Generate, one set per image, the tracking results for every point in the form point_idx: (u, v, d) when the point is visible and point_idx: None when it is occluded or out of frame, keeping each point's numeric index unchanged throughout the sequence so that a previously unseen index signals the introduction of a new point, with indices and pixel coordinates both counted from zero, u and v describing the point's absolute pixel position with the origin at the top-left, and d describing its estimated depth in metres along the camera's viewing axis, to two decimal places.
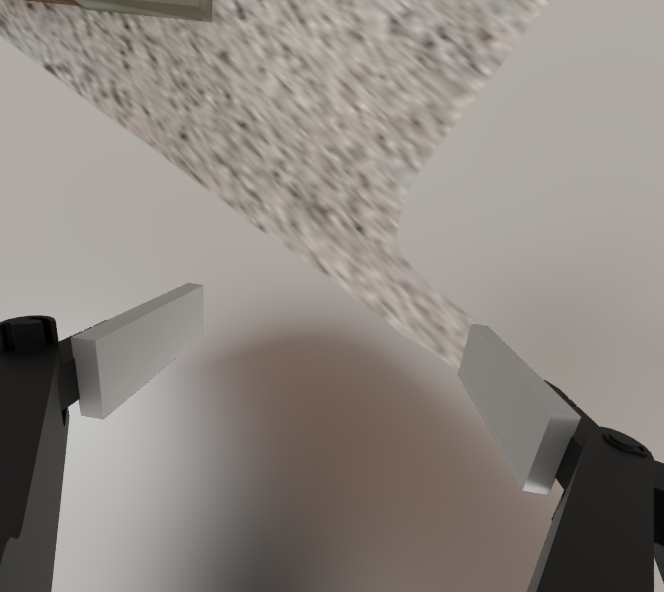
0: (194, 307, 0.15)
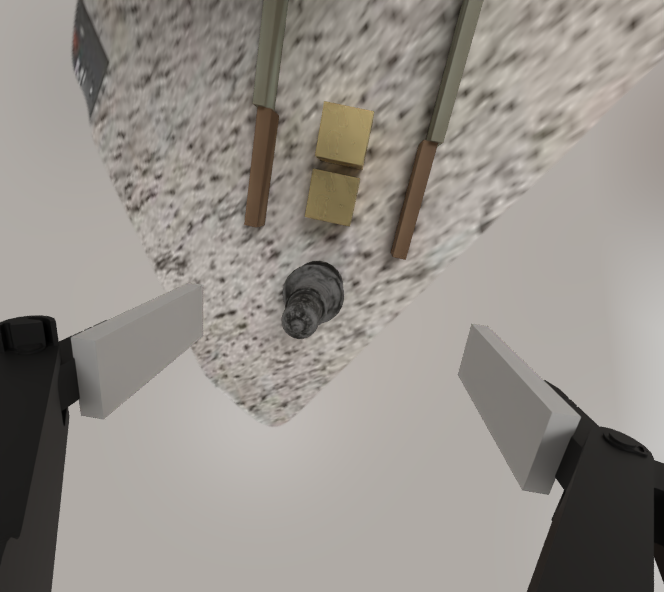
0: (194, 307, 0.15)
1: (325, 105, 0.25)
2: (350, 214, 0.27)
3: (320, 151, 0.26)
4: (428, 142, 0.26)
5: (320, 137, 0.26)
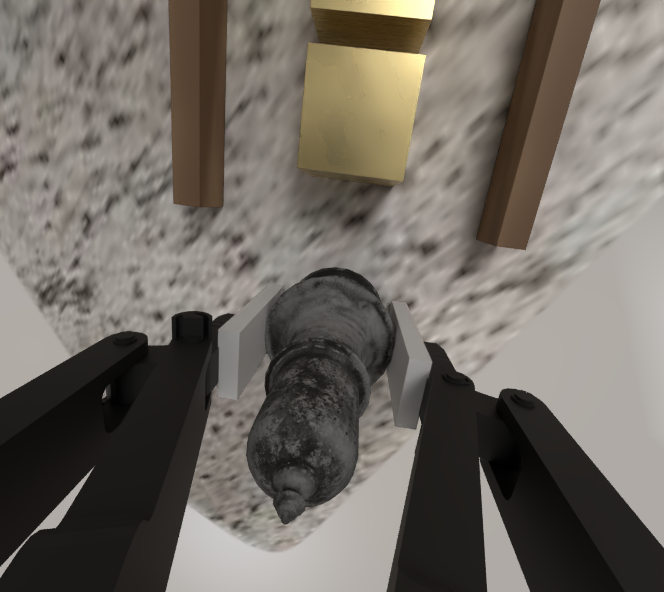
0: None
1: None
2: (404, 151, 0.11)
3: None
4: None
5: None
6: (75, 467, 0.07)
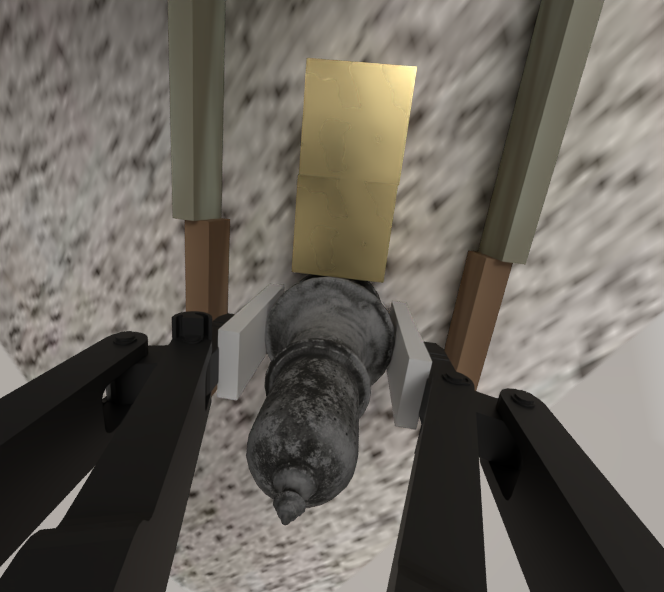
0: None
1: (310, 66, 0.12)
2: (383, 259, 0.13)
3: (308, 164, 0.13)
4: (495, 261, 0.14)
5: (306, 136, 0.12)
6: (75, 467, 0.07)
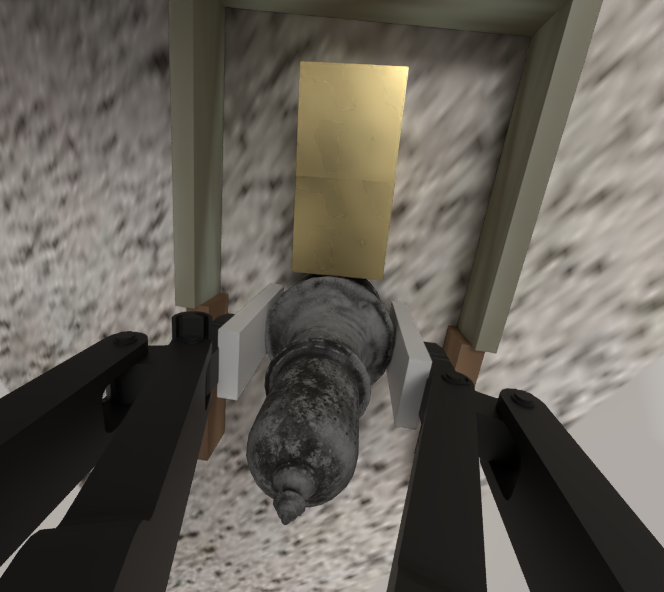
0: None
1: (304, 69, 0.12)
2: (382, 257, 0.13)
3: (304, 165, 0.13)
4: (469, 347, 0.16)
5: (302, 137, 0.12)
6: (75, 467, 0.07)
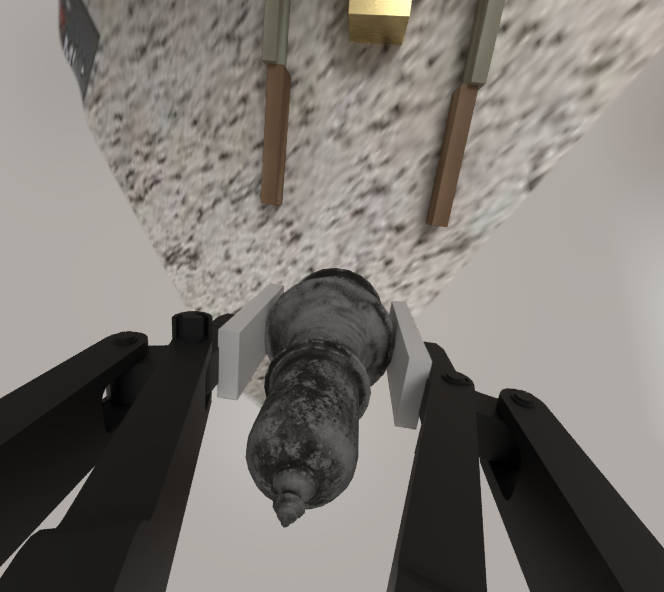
0: None
1: None
2: None
3: None
4: (467, 85, 0.23)
5: None
6: (75, 467, 0.07)
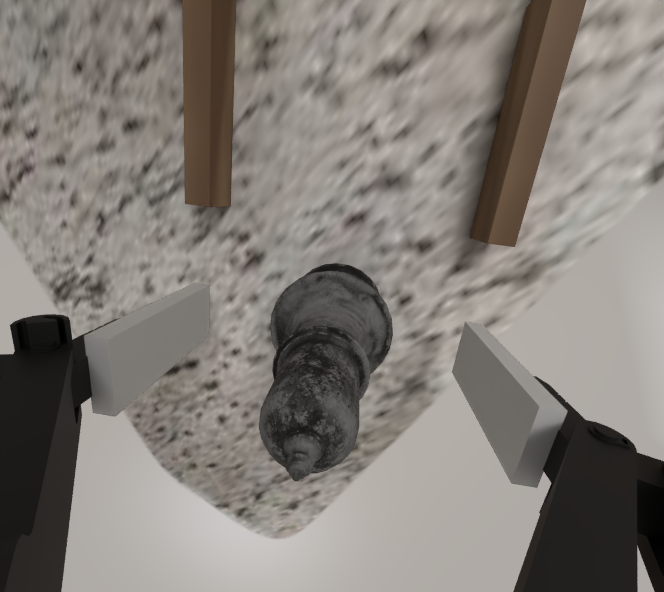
0: (201, 306, 0.15)
1: None
2: None
3: None
4: None
5: None
6: None
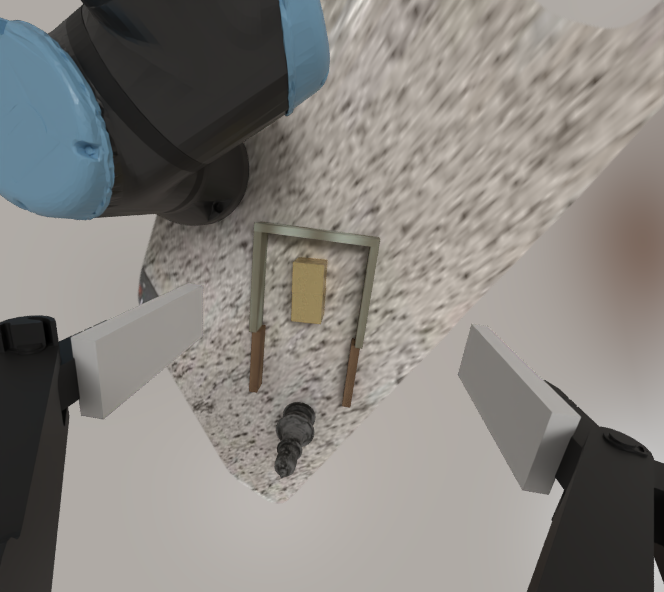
0: (194, 307, 0.15)
1: (294, 264, 0.40)
2: (320, 317, 0.42)
3: (294, 289, 0.41)
4: (354, 346, 0.44)
5: (293, 282, 0.41)
6: None
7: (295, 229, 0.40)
